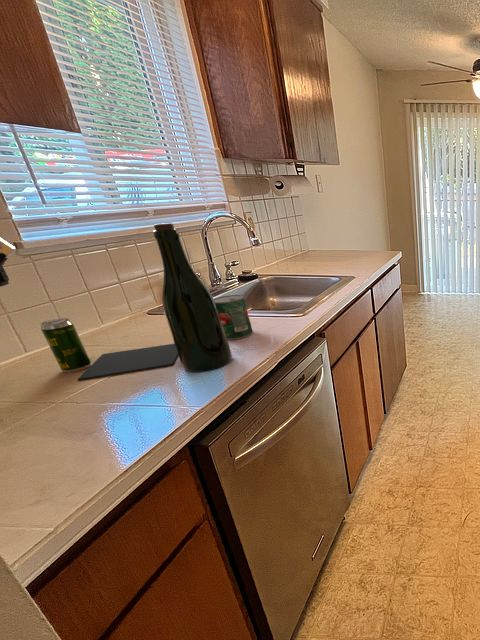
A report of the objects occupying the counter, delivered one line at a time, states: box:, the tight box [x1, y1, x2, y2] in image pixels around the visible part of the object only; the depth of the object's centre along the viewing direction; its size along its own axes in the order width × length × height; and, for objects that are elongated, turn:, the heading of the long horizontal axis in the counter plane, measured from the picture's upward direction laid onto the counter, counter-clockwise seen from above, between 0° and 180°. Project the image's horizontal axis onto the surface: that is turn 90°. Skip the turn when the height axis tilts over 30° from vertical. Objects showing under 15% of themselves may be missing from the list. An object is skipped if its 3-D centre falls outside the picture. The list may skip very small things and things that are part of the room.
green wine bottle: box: [153, 222, 233, 373], centre depth 91 cm, size 10×10×33 cm
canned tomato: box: [213, 294, 254, 341], centre depth 114 cm, size 8×8×11 cm
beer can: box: [40, 317, 92, 373], centre depth 95 cm, size 5×5×12 cm
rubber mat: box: [77, 343, 179, 382], centre depth 101 cm, size 18×16×1 cm
